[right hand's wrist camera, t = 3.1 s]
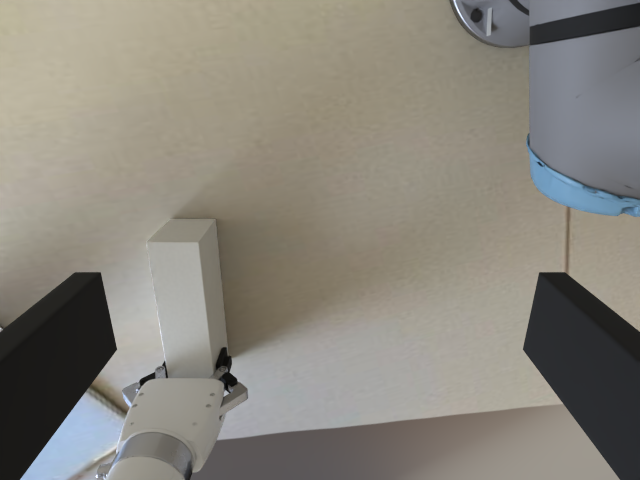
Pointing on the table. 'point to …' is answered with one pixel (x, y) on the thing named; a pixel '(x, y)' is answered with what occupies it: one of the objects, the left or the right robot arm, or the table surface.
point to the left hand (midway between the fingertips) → (201, 356)
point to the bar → (188, 296)
